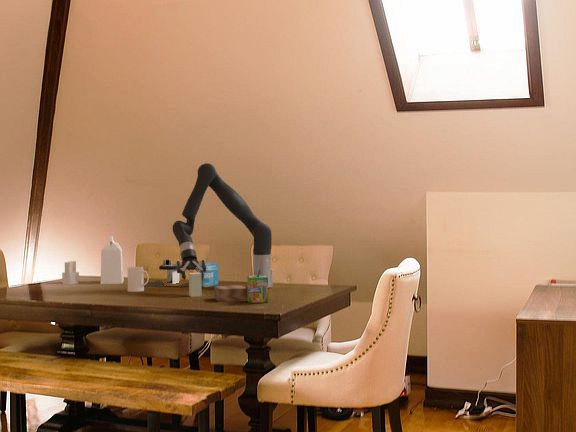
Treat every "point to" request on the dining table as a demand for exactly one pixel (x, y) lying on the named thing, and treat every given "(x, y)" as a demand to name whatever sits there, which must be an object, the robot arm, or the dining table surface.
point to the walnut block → (230, 293)
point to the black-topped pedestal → (168, 275)
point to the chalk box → (257, 289)
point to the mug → (136, 279)
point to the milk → (112, 263)
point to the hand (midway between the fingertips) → (193, 278)
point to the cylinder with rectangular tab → (70, 273)
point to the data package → (210, 275)
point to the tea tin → (195, 284)
